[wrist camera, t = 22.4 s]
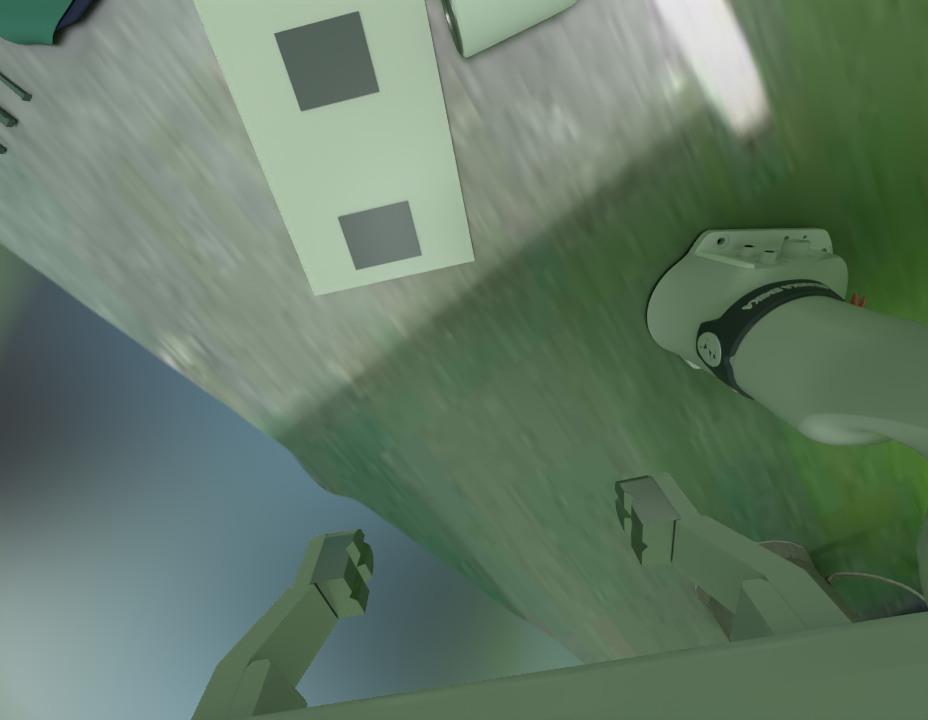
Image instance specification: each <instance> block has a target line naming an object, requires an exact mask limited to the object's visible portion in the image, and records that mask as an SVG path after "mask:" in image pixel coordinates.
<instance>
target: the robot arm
mask: <svg viewBox="0 0 928 720" xmlns="http://www.w3.org/2000/svg"><path fill="white" fill-rule="evenodd" d="M720 238H721V241H720V242H719V243H718V244H717V242H718V240H719V239H720ZM847 285H848V270H847V266H846V263H845V262H844V260H843V259H842V258H841V257H840V256H838V255H835V254H833V250H832V243H831V239H830V237H829V234H828V233H827V231H826V230H823V229H820V228H773V229H722V230H708V231H705V232H704V233H702V234H701V235H700V236H699V238H698V239H697V240H696V242H695V243H694V245H693V246H692V248H691V249H690V251H689V253H688V254H687V255H686V256H685V257H684V258H683V259H682V260H681V261H679V262H678V263H677V264H676V265H675V266H673V267H672V268H671V269H670V270H669V271H668V272H667V273H666V274H665V275H664V277H663V278H662V279H661V280H660V282H659V283H658V285H657V286H656V288H655V290H654V292H653V294H652V296H651V299H650V302H649V306H648V311H647V323H648V328H649V331H650V334H651V336H652V337H653V339H654V340H655V341H656V342H657V344H659V345H660V346H661V347H663V348H664V349H666V350H668V351H671V352H673V353H675V354H677V355H679V356H681V357H682V359H683V360H684V361H685V362H686V363H687V364H688V365H689V366H691V367H693V368H695V369H701V368H702V369H703V370H705V371H707V372H708V373H710V374H712V375H714V376H715V377H717V378H719V379H720V380H721V381H723V382H724V383H725V384H727V385H728V386H729V388H731V389H732V390H734V391H736V392H738V393H740V394H741V395H743V396H745V397H747V398H750V399H754V400H756V401H758V402H759V403H760V404H762V405H763V406H764V407H766V408H767V409H768V410H770V411H771V412H772V413H774V414H775V415H777V416H778V417H779V418H781V419H782V420H783V421H785V422H786V423H787V424H789V425H790V426H791V427H793V428H794V429H796V430H797V431H798V432H800V433H801V434H802V435H804V436H806V437H808V438H809V439H812V440H814V441H817V442H820V443H824V444H829V445H838V446H870V445H876V444H881V443H885V442H888V441H891V440H896V441H898V442H900V443H903V444H905V445H907V446H909V447H911V448H912V449H914V450H916V451H917V452H918V453H920V454H921V455H922V456H923V457H925V458H926V459H927V460H928V324H927V323H922V322H916V321H911V320H907V319H903V318H899V317H895V316H891V315H887V314H884V313H880V312H877V311H873V310H870V309H866V308H864V306H865V302H866V297H867V296H863V297H862V299H861V301H860V304H859V299H858V293H854V294H853V296H852V300H851V303H850V304H849V303H847V302H846V301H845V300H844V299H845V296H846V291H847ZM858 305H859V306H858ZM615 491H616V493H617V495H618V498H617V499H616V500H615V502H616V511H617V515H618V518H619V521H620V524H621V526H622V528H623V530H624V532H625V533H627V534H628V535H629V536H631V546H632V548H633V550H634V552H635V554H636V556H637V558H638V560H639V562H640V564H641V566H642V567H644V566H651V565H659V564H666V563H672V565H674V566H675V567H676V568H677V569H678V570H680V571H681V572H682V573H683V574H685V575H686V576H687V577H688V578H690V579H691V580H692V581H693V582H695V583H696V584H697V585H698V586H700V587H701V588H702V589H703V590H705V591H706V592H707V593H708V594H709V595H711V596H712V597H713V598H714V599H716V600H717V601H718V602H719V603H721V604H722V605H723V606H724V607H726V608H727V609H728V610H729V611H731V612H732V613H733V614H734V615H735V617H734V621H733V625H732V629H731V634H730V638H729V639H730V641H731V642H728V643H722V644H715V645H709V646H702V647H696V648H690V649H683V650H677V651H670V652H664V653H657V654H651V655H644V656H637V657H631V658H624V659H618V660H611V661H605V662H598V663H592V664H585V665H579V666H572V667H566V668H560V669H553V670H546V671H540V672H534V673H527V674H521V675H514V676H508V677H501V678H494V679H488V680H482V681H475V682H469V683H462V684H456V685H450V686H443V687H436V688H430V689H423V690H417V691H411V692H404V693H397V694H391V695H385V696H378V697H372V698H365V699H359V700H353V701H346V702H340V703H333V704H326V705H320V706H314V707H307V703H306V700H305V699H304V698H303V697H302V696H301V694H300V693H299V692H298V691H297V690H296V689H295V687H296V685H297V684H298V683H299V681H300V679H301V678H302V676H303V675H304V673H305V672H306V670H307V669H308V667H309V665H310V664H311V662H312V661H313V659H314V657H315V656H316V655H317V653H318V651H319V650H320V648H321V647H322V645H323V644H324V642H325V641H326V639H327V637H328V636H329V634H330V633H331V631H332V630H333V628H334V627H335V625H336V623H337V622H338V619H340V618H344V617H350V616H355V615H360V614H365V610H366V605H367V600H368V594H369V589H368V588H367V586H366V583H367V582H368V581H369V579H370V578H371V577H372V573H373V553H372V550H371V547H370V545H369V544H367V543H365V542H363V541H364V534H363V532H362V530H361V529H356V530H350V531H343V532H337V533H331V534H325V535H319V536H314V537H313V538H312V539H311V540H310V542H309V544H308V547H307V549H306V552H305V555H304V557H303V560H302V563H301V565H300V568H299V571H298V573H297V576H296V579H295V582H294V584H293V587H292V588H288V589H287V590H286V591H285V592H284V593H283V594H282V595H281V597H279V598H278V600H277V601H276V602H275V603H274V604H273V605H272V606H271V607H270V608H269V609H268V610H267V611H266V612H265V614H264V615H263V616H262V617H261V618H260V619H259V620H258V621H257V622H256V623H255V624H254V625H253V627H252V628H251V629H250V630H249V631H248V632H247V633H246V634H245V635H244V636H243V637H242V639H241V640H240V641H239V642H238V643H237V644H236V645H235V646H234V647H233V648H232V649H231V650H230V651H229V653H228V654H227V655H226V656H225V657H224V658H223V659H222V660H221V661H220V662H219V663H218V665H217V666H216V668H215V670H214V672H213V674H212V676H211V679H210V681H209V683H208V685H207V687H206V689H205V691H204V693H203V696H202V698H201V700H200V702H199V705H198V706H197V708H196V710H195V713H194V715H193V717H192V719H191V720H928V612H922V613H915V614H909V615H902V616H896V617H889V618H883V619H876V620H870V621H864V622H857V623H852V622H851V621H850V620H849V619H848V618H847V616H846V615H845V614H844V613H843V612H842V611H841V610H840V609H839V608H838V606H837V605H836V604H835V603H834V602H833V601H832V600H831V599H830V598H829V596H828V595H827V594H826V593H825V592H824V591H823V590H822V589H821V588H820V586H819V585H818V584H817V583H816V582H815V581H814V580H813V579H812V578H811V576H810V575H809V574H808V573H807V572H806V571H805V570H804V569H802V568H800V567H799V566H797V565H795V564H793V563H791V562H790V561H788V560H786V559H784V558H782V557H781V556H779V555H777V554H775V553H773V552H771V551H770V550H768V549H766V548H764V547H762V546H761V545H759V544H757V543H755V542H753V541H751V540H750V539H748V538H746V537H744V536H742V535H741V534H739V533H737V532H735V531H733V530H731V529H730V528H728V527H726V526H724V525H722V524H721V523H719V522H717V521H715V520H713V519H712V518H710V517H708V516H706V515H705V516H700V515H699V513H698V512H697V511H696V509H695V508H694V507H693V505H692V504H691V503H690V501H689V500H688V499H687V497H686V496H685V495H684V493H683V492H682V491H681V489H680V488H679V487H678V485H677V484H676V483H675V481H674V480H673V479H672V477H671V476H670V475H669V474H668V473H666V472H664V473H659V474H653V475H649V476H648V475H647V476H641V477H636V478H631V479H626V480H621V481H616V483H615ZM916 545H917V558H918V570H919V575H920V581H921V586H922V591H923V596H924V599H925V602H926V604H927V606H928V509H927V512H926V514H925V517H924V520H923V523H922V526H921V528H920V531H919V534H918V537H917V544H916Z"/></svg>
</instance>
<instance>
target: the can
mask: <svg viewBox="0 0 928 720" xmlns="http://www.w3.org/2000/svg"><path fill="white" fill-rule="evenodd" d="M441 1H442V4H443V8H444V12H445V15H446V19H447V22H448V25H449V28H450V31H451V34H452V37H453V40H454V43H455V45H456V48H457V50H458V52H459V54H460V55H461V56H464V57H466V58H468V57H470V56H472V55H474V54H476V53H478V52H481V51H483V50H485V49H487V48H489V47H491V46H493V45H495V44H497V43H499V42H501V41H503V40H505V39H507V38H509V37H511V36H513V35H515V34H517V33H519V32H521V31H523V30H525V29H527V28H529V27H531V26H533V25H535V24H537V23H539V22H541V21H543V20H545V19H547V18H549V17H551V16H553V15H555V14H557V13H559V12H561V11H563V10H565V9H567V8H569V7H571V6H572V5H574V4H575V3H576V1H577V0H441Z"/></svg>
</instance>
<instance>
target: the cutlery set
mask: <svg viewBox="0 0 928 720" xmlns="http://www.w3.org/2000/svg"><path fill="white" fill-rule="evenodd" d="M93 1H94V0H0V37H2V38H4V39H5V40H8V41H11V42H13V43H16V44H46V45H52V41H53V33H54V31H56V30H58V29H61V28H63V27H66V26H68V25H70V24H73V23H75V22H77V21H78V20H79V19H80V17H81V16H82V15H83V14H84V12H85V11H86V10H87V9H88V7H89V6H90V5H91V3H92V2H93ZM0 80H1V81H2V82H3V83H5V84H6V85H7V86H8V87H9V88H11V89H12V90H13V91H14V92H15V93H17V94H18V95H19V96H20V97H21V98H22V100H24V101H30V99H31V97H32V95H28V94H25V93H24V92H23V91H21V90H20V89H19V88H17V87H16V86H15V85H13V84H12V83H11V82H9V81H8V80H7V79H5V78H4V77H3V76H1V75H0ZM0 122H2V123H3V124H4V125H5V126H6V127H13V125H14V123H15V120H14V119H12V118H11V117H10V116H8V115H7V114H6V113H4V112H3V111H2V110H0ZM4 151H5V148H3V147H2V146H1V145H0V154H3V153H4Z"/></svg>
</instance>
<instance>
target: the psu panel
mask: <svg viewBox="0 0 928 720" xmlns="http://www.w3.org/2000/svg"><path fill="white" fill-rule="evenodd" d="M193 2H194V4H195V7H196V9H197V11H198V14H199V16H200V19H201V21H202V23H203V26H204V28H205V31H206V33H207V36H208V38H209V40H210V43H211V45H212V48H213V50H214V53H215V55H216V57H217V60H218V62H219V65H220V67H221V70H222V72H223V74H224V77H225V79H226V82H227V84H228V87H229V89H230V91H231V94H232V96H233V99H234V101H235V103H236V106H237V108H238V111H239V113H240V116H241V118H242V120H243V123H244V125H245V128H246V130H247V133H248V135H249V137H250V140H251V142H252V145H253V147H254V150H255V152H256V154H257V157H258V159H259V162H260V164H261V166H262V169H263V171H264V174H265V176H266V179H267V181H268V183H269V186H270V188H271V191H272V193H273V196H274V198H275V200H276V203H277V205H278V208H279V210H280V213H281V215H282V217H283V220H284V222H285V225H286V227H287V230H288V232H289V234H290V237H291V239H292V242H293V244H294V246H295V249H296V251H297V254H298V256H299V259H300V261H301V263H302V266H303V268H304V271H305V273H306V276H307V278H308V280H309V283H310V285H311V288H312V290H313V293H314V295H315V296H318V295H322V294H327V293H331V292H336V291H340V290H345V289H349V288H354V287H358V286H363V285H367V284H372V283H376V282H381V281H386V280H390V279H395V278H399V277H404V276H408V275H413V274H417V273H422V272H426V271H431V270H435V269H440V268H444V267H449V266H453V265H458V264H462V263H467V262H471V261H475V259H474V254H473V248H472V243H471V238H470V233H469V228H468V223H467V217H466V212H465V207H464V202H463V197H462V192H461V186H460V181H459V176H458V171H457V166H456V161H455V155H454V150H453V145H452V140H451V135H450V130H449V124H448V119H447V114H446V109H445V104H444V99H443V93H442V88H441V83H440V78H439V73H438V68H437V62H436V57H435V52H434V47H433V42H432V37H431V31H430V26H429V21H428V16H427V11H426V6H425V0H193Z"/></svg>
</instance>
